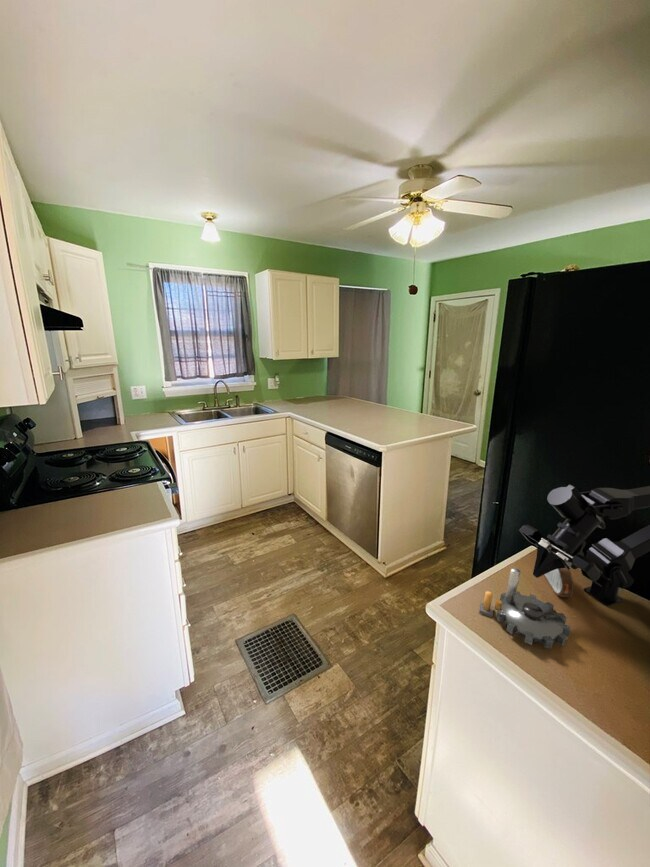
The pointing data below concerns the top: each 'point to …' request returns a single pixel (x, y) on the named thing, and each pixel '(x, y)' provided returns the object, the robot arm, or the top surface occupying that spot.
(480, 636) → the top surface
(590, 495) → the robot arm
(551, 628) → the sprocket
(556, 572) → the tin
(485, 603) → the rounded peg on base
